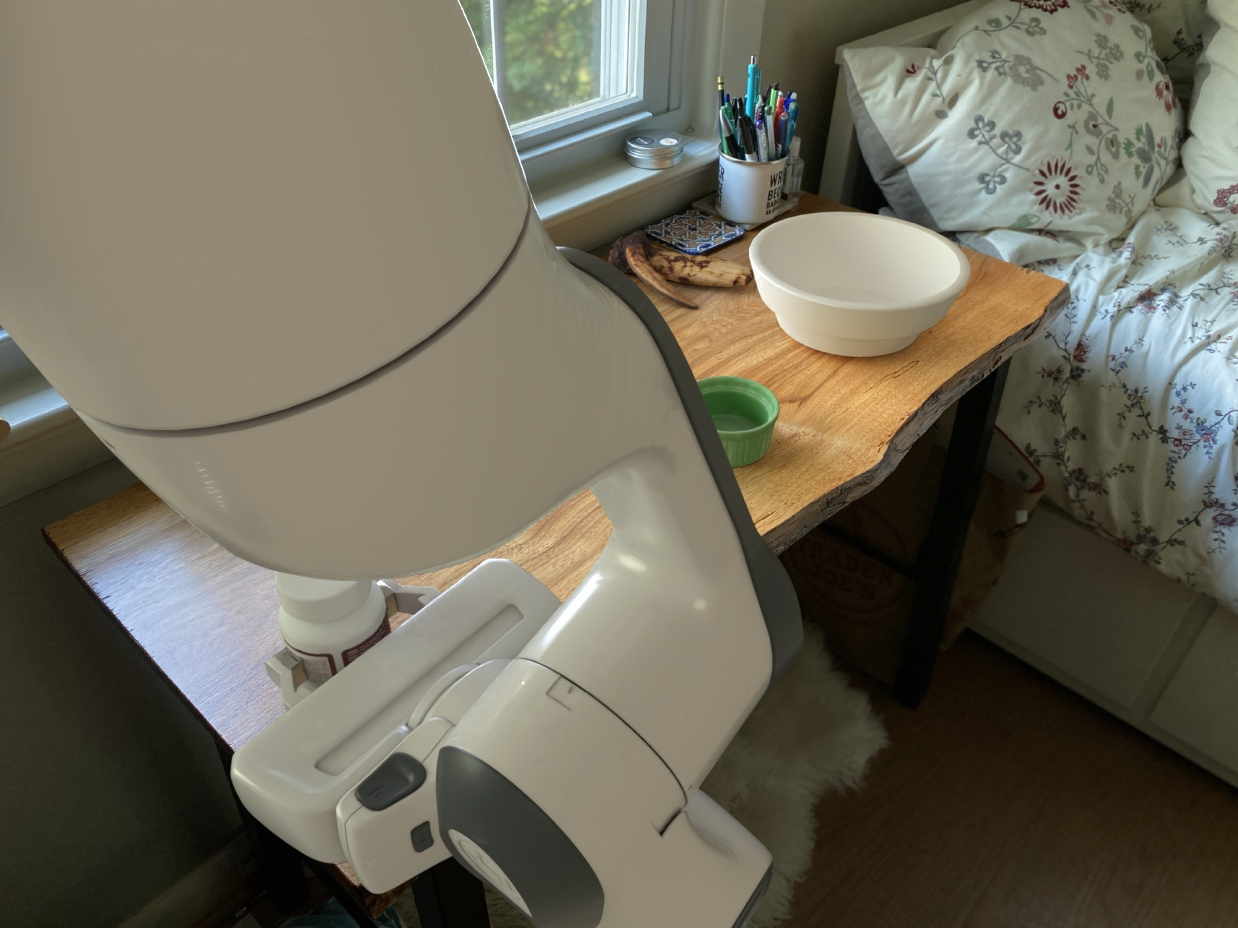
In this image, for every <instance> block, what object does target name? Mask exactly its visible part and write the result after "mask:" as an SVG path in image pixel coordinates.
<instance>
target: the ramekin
mask: <svg viewBox="0 0 1238 928" xmlns="http://www.w3.org/2000/svg"><path fill="white" fill-rule="evenodd" d="M696 381H697V384H698V386H699V388H700V391H701V393H702V395H703V398H704V400H705V402H706V405H707V407H708V410H709V412H710V415H711V417H712V420H713V422H714V425H715V427H716V429H717V432H718V434H719V437H720V439H721V442H722V445H723V447H724V450H725V452H726V455H727V457H728V460H729V462H730V465H731V467H732V468H737V467H738V468H739V467H744V466H747V465H751V464H753V463H755V462H757V461H759V460H760V459H761V458H763V457H764V456H765V455H766V454H767V451H768V450H769V449H770V446H771V442H772V438H773V433H774V429H775V424H776V422H777V421H778V419H779V415H780V410H781V406H780V405H781V404H780V401H779V399H778V397H777V395H775V393H774V392H773V391H772V390H771V389H770V388H768V387H767V386H765V385H764V384H762V383H759V382H758V381H754V380H753V379H749V378H745V377H742V376H735V375H734V376H733V375H715V376H709V377H704V378H701V379H698V380H696Z"/></svg>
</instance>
